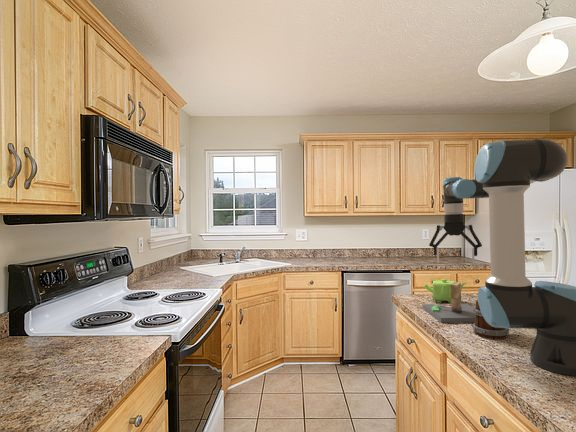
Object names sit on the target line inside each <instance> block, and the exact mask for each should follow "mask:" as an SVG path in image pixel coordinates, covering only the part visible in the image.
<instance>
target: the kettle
mask: <svg viewBox="0 0 576 432" xmlns="http://www.w3.org/2000/svg"><path fill="white" fill-rule="evenodd" d="M454 282H457V281H456V280H448V279H447V278H441V280H439V279H438V280H435V279H434V280H432V287H431V286H430V285H428V284H427V283H426V284H425V285H424V286H423V288H424V289H426V290H427V291H429V292H431V294H432V300H433V301H436V304H442V302H448V303H447V304H451V284H452V283H454ZM466 284H467V282H461V292H462V290H463V287H464V285H466Z"/></svg>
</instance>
